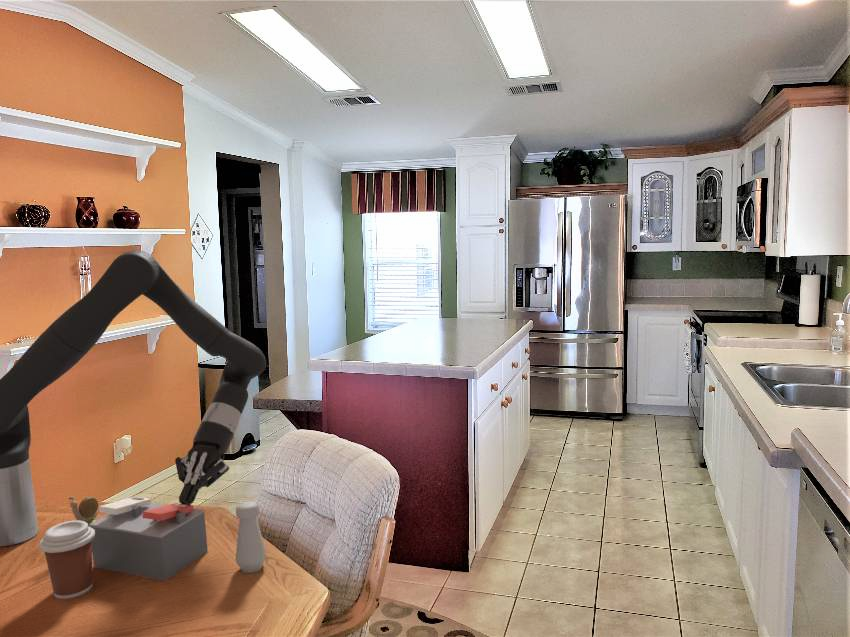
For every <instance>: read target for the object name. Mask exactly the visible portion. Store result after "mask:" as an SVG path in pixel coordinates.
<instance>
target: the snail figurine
mask: <svg viewBox="0 0 850 637" xmlns="http://www.w3.org/2000/svg"><path fill="white" fill-rule="evenodd" d="M68 499H69V502H70V504H69V506H70V507H71V511H72V513H73V515H74V518H75V521H77V520H79V521H85V522H86V523H88V527H89V524H91V523H93V522H95V521H97V520H98V519H96V517H97V515H98V514H99V511H98V510H99V509H98V508H99V502H98V500H97V498H96V497H94V496H87V497H85V498H83V499H81V501H80V503H78V501H77V500H74V499H75V496H69V497H68ZM71 500H72V501H71Z"/></svg>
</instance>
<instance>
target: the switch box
mask: <svg viewBox="0 0 850 637" xmlns="http://www.w3.org/2000/svg"><path fill="white" fill-rule="evenodd" d="M167 505H168V504H164V503H156V502H151V505H148V506H144V507H141V506H140V505H138V506H136V507H134V508H132V510H131V511H128V512H124V513H121V514H118V515H113V514H106V515H104V516H103V517H101V518H99V519H96V520H97V521H95V522H93V523H91V524H89V527H91V528H92V529H94V530H95V538H94V539H93V540H92V564H93V568H96V569H101V570H107V571H111V572H117V573H122V574H125V575H126V574H127V575H132V576H138V577H141V578H147V579H153V580H158V581H163V582H166V581H168V580H170V578H172V577H174V576H175V575H176V574H178V573H180V572H181V571H182V570H183V569H185V568H186V567H188V566H189V565H190V564H192V563H194V562H196V560H198V559H199V558H201V557H202V556H203V555H205V554H206V553H208V552H209V550H208V540H207V527H206V518H205V509H201V508H200V509H199V508H193V512H190V513H186V514H185V512H182V511H181V512H180V513H178V514H176V517H172V518H168V519H165V520H161V521H159V520H153V519H146V518H142V517H143V511H147V510H151V509H155V508H159V507H163V506H167Z"/></svg>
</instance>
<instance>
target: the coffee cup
mask: <svg viewBox="0 0 850 637" xmlns="http://www.w3.org/2000/svg"><path fill="white" fill-rule="evenodd" d="M94 538H95V530H94V529H92V528H91V527H88V523H86V522H85V521H79V520H69V521H64V522H61V523H57V524H54V525H53V526H51V527H49V528H48V529H47V530H45V533H44V537H43V538H42V539H41V540H40V541H39V545H38V546H39V550H41V552H43V553H44V556H45V559H46V564H47V569H48V574H49V577H50V582H51V587H52V591H53V597H55V598H56V599H58V600H67V599H73V598H77V597H79V596H82V595H84V594H86V593H87V592H89V591H90V590H91V589H92V587H93V584H94V583H93V554H92V540H93V539H94Z"/></svg>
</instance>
